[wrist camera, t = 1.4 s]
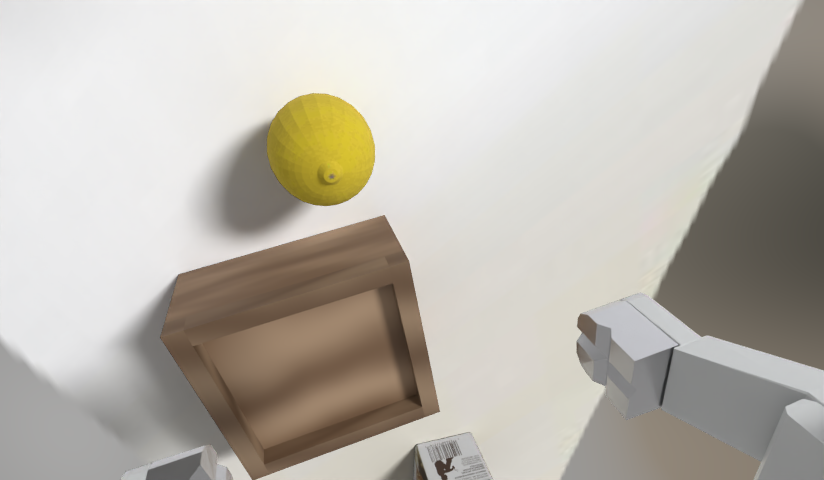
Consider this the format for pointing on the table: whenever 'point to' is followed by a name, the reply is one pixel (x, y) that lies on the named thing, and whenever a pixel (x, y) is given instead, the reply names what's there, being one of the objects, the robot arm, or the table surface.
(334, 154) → the lemon
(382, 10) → the table surface
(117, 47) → the table surface
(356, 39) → the table surface
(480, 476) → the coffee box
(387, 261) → the walnut base
